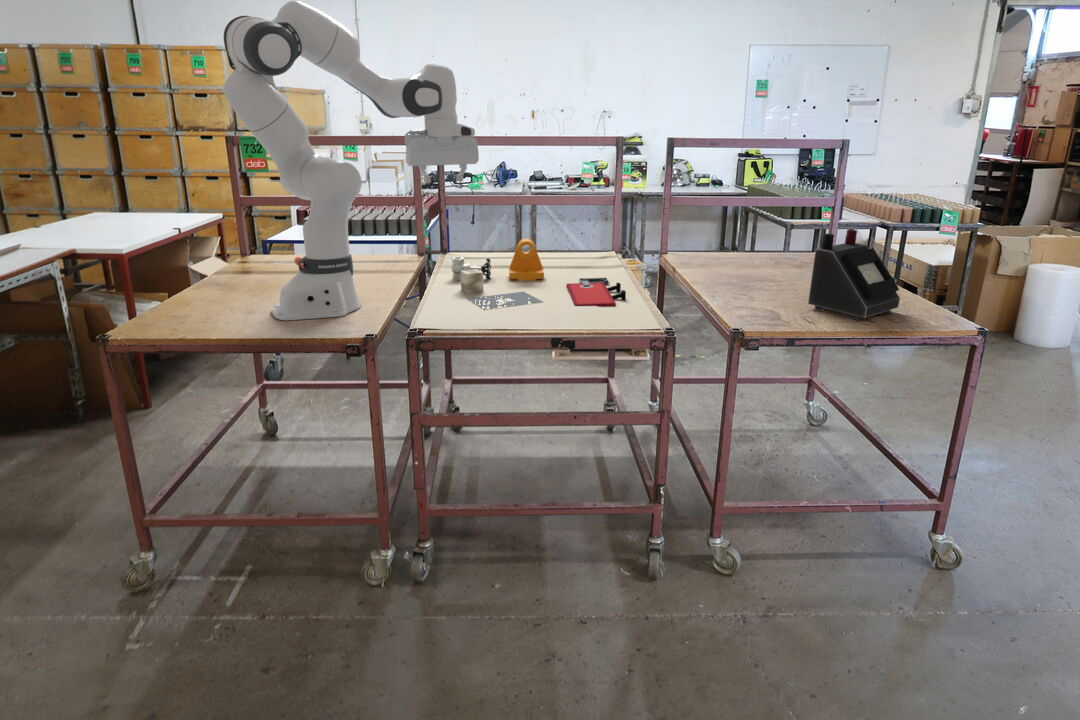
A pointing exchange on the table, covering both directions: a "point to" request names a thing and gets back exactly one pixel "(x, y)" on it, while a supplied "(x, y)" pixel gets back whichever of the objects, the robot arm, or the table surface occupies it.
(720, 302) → the table surface
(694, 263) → the table surface
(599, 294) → the red board with handle
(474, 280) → the maple block
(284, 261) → the table surface
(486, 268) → the valve
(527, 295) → the grey mat
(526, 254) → the bracket
